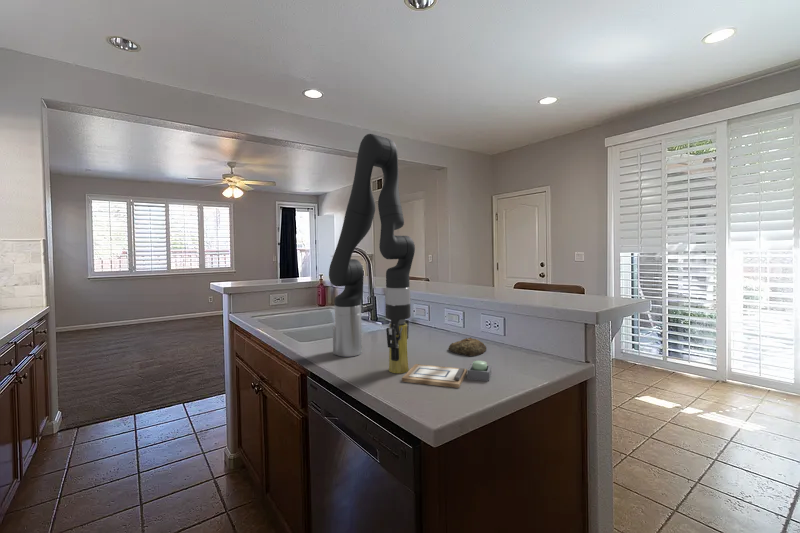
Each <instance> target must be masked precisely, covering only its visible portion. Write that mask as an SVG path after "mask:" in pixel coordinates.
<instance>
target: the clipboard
mask: <svg viewBox="0 0 800 533" xmlns="http://www.w3.org/2000/svg"><path fill="white" fill-rule="evenodd" d="M467 370H468V369H467V368H461V367H450V366H440V365H439V366H438V365H430V364H429V365H428V364H419V363H418V364H417V363H415V364H414V365H413V366H412V367H411V368H410V369H409V370H408V372H406V373H404V375H403V376H402V377H401V382H405V383H414V384H421V385H428V386H429V385H430V386H437V387H446V388H455V389H456V388H457V389H460V387H461V386H462V383H463V381H464V379H465V377H466V376H467Z"/></svg>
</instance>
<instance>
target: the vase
mask: <svg viewBox="0 0 800 533" xmlns="http://www.w3.org/2000/svg"><path fill="white" fill-rule="evenodd" d="M405 324H406V323H405ZM390 325H391V322H390V323H389V327H388V328H390ZM402 326H403V330H402V339H401V341H400V342H399V360H398V361H392V360H391V348H389V347H388V350H389V352H388V358H389V359H388V362H389V363H388V372H390V373H392V374H406V373H407V372H408V371H409V370H410V369H409V359H408V358H409V357H408V339H407V324H406V325H401V326H399V331H400V329H401V327H402ZM396 337H399V334H398V335H396ZM390 341H391V340H390ZM396 341H397V340H396ZM393 344H394V341H393Z"/></svg>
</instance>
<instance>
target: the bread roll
mask: <svg viewBox="0 0 800 533" xmlns="http://www.w3.org/2000/svg"><path fill="white" fill-rule="evenodd" d="M448 350H449V351H450V352H452V353H455V354H459V355H462V356H467V357H475V356H479V355H480V356H481V355H482V354H484V353H486V352H487V345H486V344H484V343H483V341H480V340H479V339H476V338H471V337H468V338H467V337H466V338H464V339H461V340H458V341H455V342H452V343H451V344H450V345H449V346H448Z"/></svg>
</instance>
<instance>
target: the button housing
mask: <svg viewBox="0 0 800 533" xmlns="http://www.w3.org/2000/svg"><path fill="white" fill-rule="evenodd" d="M466 376H467V380H473V381H475V380H476V381H482V382H483V381H484V382H490V380H491V377H492V365H488V364H487V371H478V370H473V363H470V365H469V366H468V369H467V374H466Z"/></svg>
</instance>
